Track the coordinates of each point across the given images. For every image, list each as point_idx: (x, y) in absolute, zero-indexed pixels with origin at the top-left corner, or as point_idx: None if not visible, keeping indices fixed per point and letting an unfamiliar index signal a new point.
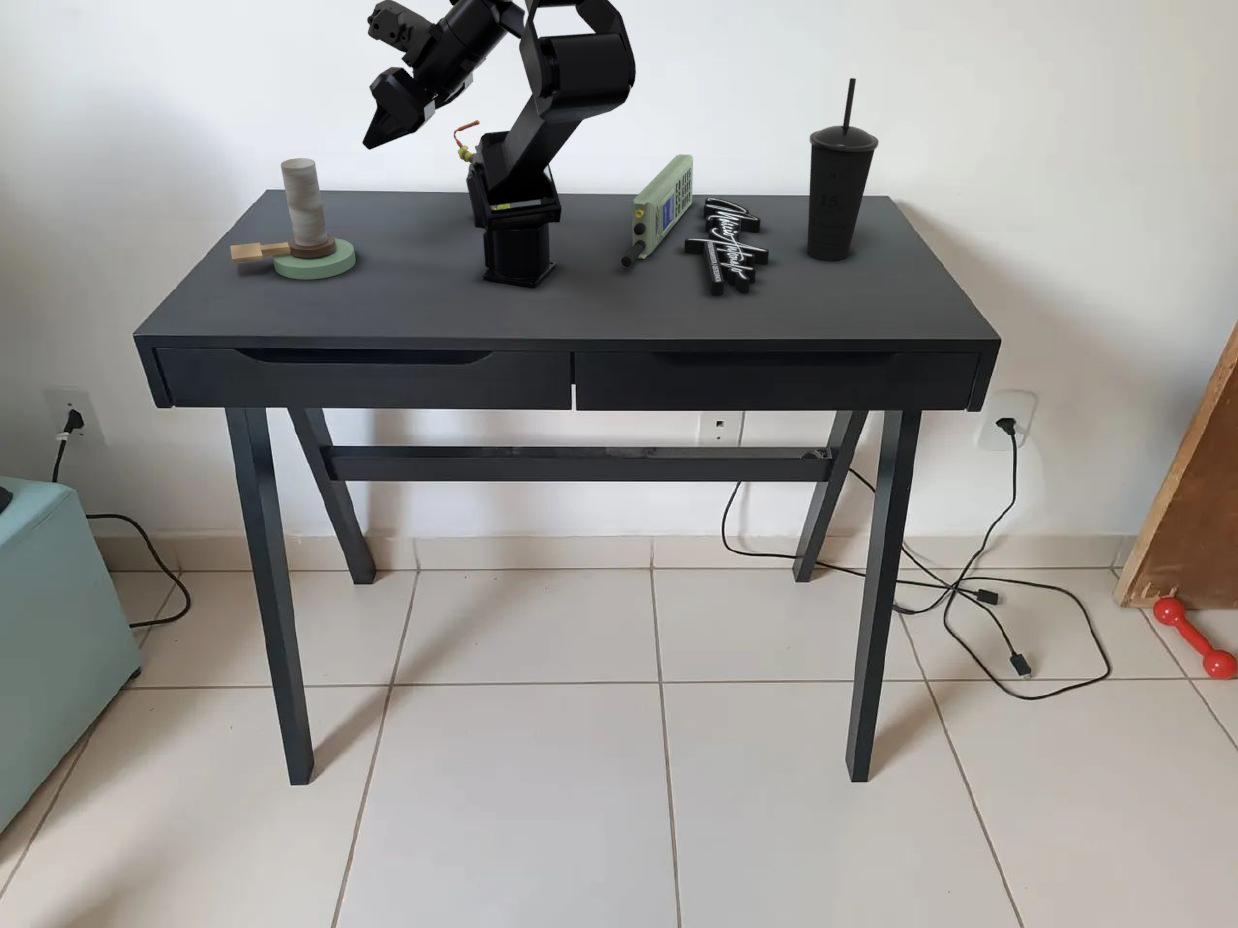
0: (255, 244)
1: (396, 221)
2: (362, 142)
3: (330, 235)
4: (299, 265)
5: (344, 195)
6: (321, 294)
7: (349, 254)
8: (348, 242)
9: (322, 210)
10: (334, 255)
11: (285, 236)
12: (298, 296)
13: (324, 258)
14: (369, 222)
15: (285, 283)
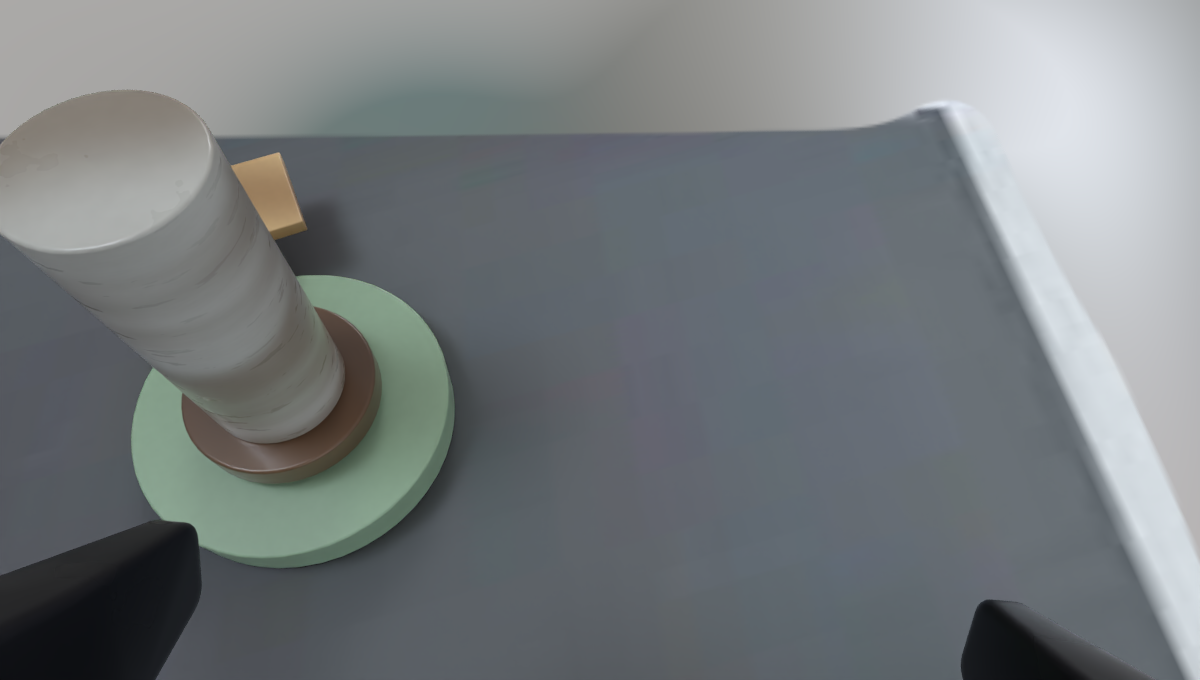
0: (282, 213)
1: (787, 610)
2: (149, 523)
3: (335, 438)
4: (153, 393)
5: (991, 329)
6: (5, 525)
7: (246, 551)
8: (385, 507)
9: (219, 389)
10: (243, 492)
11: (566, 258)
12: (9, 449)
13: (212, 462)
14: (749, 497)
15: (143, 373)
